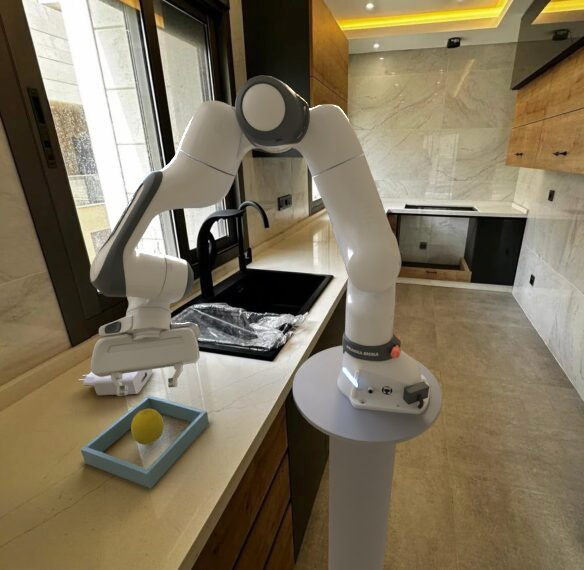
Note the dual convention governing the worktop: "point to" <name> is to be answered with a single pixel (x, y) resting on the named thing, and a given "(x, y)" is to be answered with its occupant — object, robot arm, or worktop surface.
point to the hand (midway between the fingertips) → (147, 391)
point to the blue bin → (164, 461)
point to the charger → (129, 379)
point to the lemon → (147, 426)
